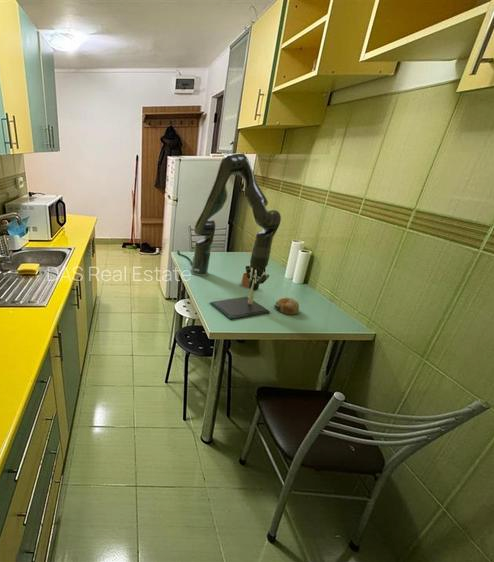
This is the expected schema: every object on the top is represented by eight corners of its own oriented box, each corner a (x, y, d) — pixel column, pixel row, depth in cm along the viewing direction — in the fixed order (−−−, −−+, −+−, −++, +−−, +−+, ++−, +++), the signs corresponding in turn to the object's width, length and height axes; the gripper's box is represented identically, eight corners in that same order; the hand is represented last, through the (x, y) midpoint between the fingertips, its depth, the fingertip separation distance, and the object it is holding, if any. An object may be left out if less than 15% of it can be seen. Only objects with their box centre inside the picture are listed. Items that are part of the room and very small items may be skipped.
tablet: (210, 303, 151) (210, 301, 150) (246, 298, 157) (246, 296, 157) (230, 319, 137) (230, 317, 136) (269, 313, 143) (269, 310, 143)
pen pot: (238, 284, 173) (241, 273, 170) (246, 283, 174) (248, 272, 171) (244, 288, 169) (247, 276, 166) (252, 287, 170) (254, 275, 167)
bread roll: (291, 322, 142) (303, 311, 138) (271, 309, 145) (283, 297, 140) (292, 313, 150) (303, 302, 146) (273, 301, 153) (284, 290, 148)
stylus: (246, 303, 149) (252, 278, 143) (249, 303, 149) (255, 278, 144) (249, 305, 147) (255, 280, 142) (252, 305, 148) (258, 280, 142)
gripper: (278, 259, 133) (270, 294, 140) (256, 249, 145) (249, 282, 152) (265, 260, 131) (256, 296, 138) (243, 250, 143) (237, 284, 150)
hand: (253, 289), depth 145 cm, fingers closed on stylus, 2 cm apart
